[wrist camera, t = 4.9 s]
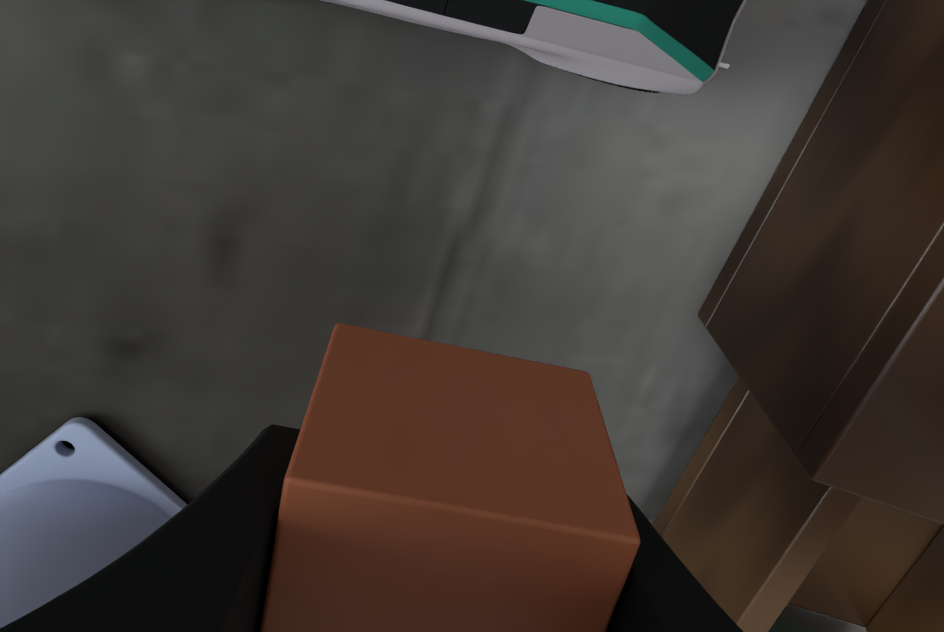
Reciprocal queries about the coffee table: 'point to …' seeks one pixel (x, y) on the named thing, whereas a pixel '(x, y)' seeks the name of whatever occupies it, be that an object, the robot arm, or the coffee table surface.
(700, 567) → the drawer
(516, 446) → the block
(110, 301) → the coffee table surface
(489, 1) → the toy car
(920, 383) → the cabinet
